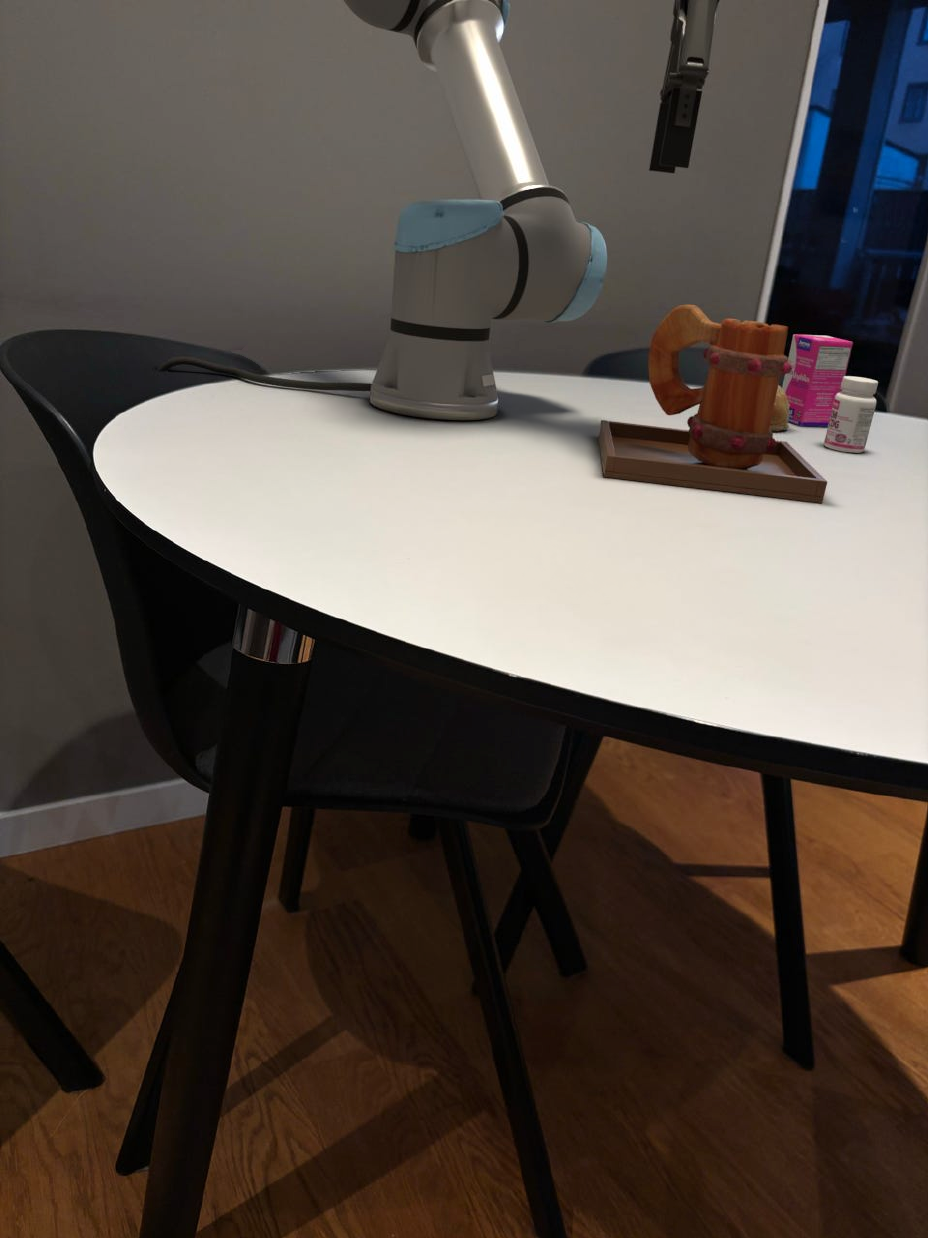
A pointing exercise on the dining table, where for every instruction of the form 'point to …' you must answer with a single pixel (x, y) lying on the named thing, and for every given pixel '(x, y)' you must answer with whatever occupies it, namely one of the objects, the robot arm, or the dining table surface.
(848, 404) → the pill bottle
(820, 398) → the supplement box
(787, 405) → the bread roll
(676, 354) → the mug
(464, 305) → the robot arm
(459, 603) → the dining table surface
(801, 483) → the tray
